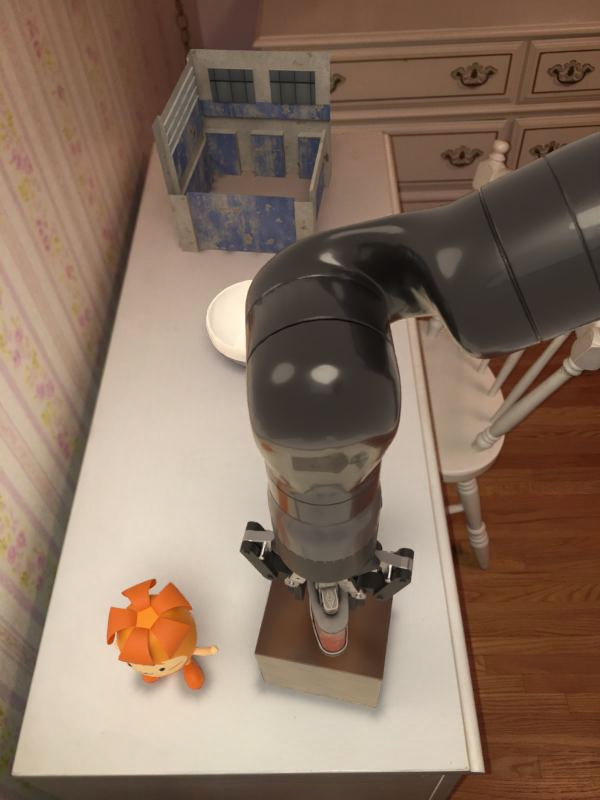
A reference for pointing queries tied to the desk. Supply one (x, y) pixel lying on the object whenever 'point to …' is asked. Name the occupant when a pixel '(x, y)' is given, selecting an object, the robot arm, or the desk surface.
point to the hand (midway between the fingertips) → (327, 594)
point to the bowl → (229, 322)
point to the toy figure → (157, 634)
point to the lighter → (329, 616)
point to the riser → (302, 657)
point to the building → (245, 145)
